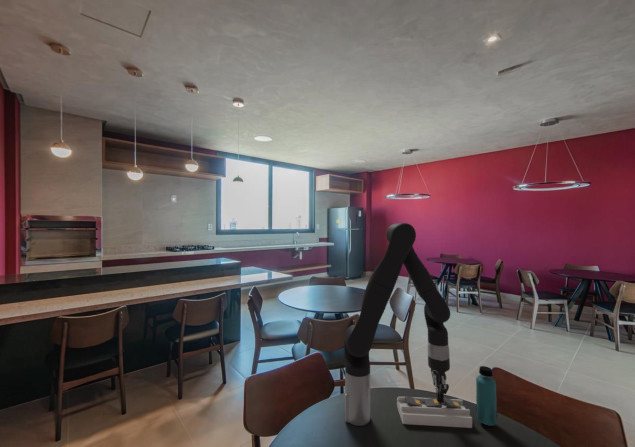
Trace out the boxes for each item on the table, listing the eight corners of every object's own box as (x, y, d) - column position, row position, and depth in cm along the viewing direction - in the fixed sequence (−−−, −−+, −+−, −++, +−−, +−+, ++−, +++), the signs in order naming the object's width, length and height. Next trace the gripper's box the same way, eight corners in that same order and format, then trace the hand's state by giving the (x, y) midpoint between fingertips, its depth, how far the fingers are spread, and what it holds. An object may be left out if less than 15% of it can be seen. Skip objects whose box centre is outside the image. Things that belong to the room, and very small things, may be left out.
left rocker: (407, 404, 105) (408, 401, 105) (404, 397, 109) (405, 395, 109) (421, 409, 104) (422, 406, 104) (418, 402, 109) (419, 399, 109)
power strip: (402, 423, 102) (402, 409, 102) (397, 406, 112) (397, 393, 112) (472, 427, 100) (472, 413, 100) (460, 409, 110) (460, 396, 110)
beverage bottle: (500, 431, 98) (500, 373, 99) (479, 429, 100) (479, 371, 100) (492, 419, 105) (492, 364, 105) (473, 416, 106) (472, 362, 106)
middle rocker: (427, 408, 104) (427, 405, 104) (423, 401, 109) (423, 398, 109) (441, 407, 104) (441, 404, 104) (437, 400, 108) (437, 397, 108)
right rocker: (446, 406, 104) (447, 403, 104) (442, 399, 108) (443, 396, 108) (461, 411, 103) (461, 408, 103) (456, 403, 108) (456, 401, 108)
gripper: (423, 347, 113) (424, 391, 113) (434, 362, 100) (435, 412, 100) (442, 347, 113) (444, 391, 112) (456, 363, 99) (457, 413, 99)
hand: (440, 401), depth 106 cm, fingers closed
